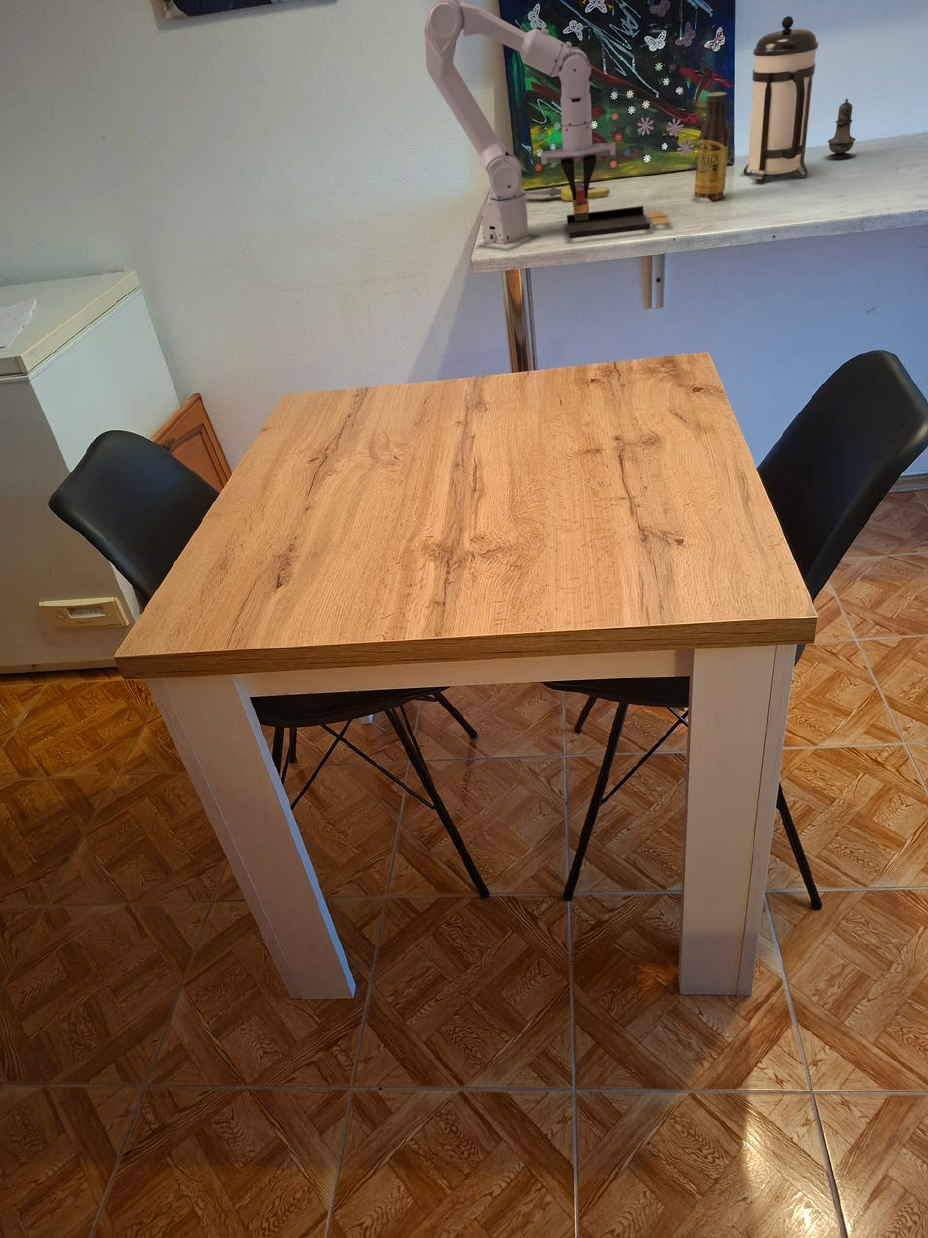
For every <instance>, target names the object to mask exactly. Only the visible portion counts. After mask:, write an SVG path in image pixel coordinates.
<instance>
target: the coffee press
mask: <svg viewBox="0 0 928 1238" xmlns="http://www.w3.org/2000/svg"><path fill="white" fill-rule="evenodd" d="M793 25H794V19H793V17H792V16H790V15H787V16H786V17H785V16H784V18H783V19H782V21H781V26H782V28H783V29H782V30H779V31H774V32H770V33H768V34H765V35H764V36H762V37H761V38H760V39H758V41H757V43H756V45H755V48H753V51H752V54H753V57H754V67H753V69H752V79H751V80H752V81H753V82H752V93H751V95H752V96H751V112H750V125H749V140H748V141H749V142H748V154H747V155H748V156H747V157H748V158H747V165H746V166H745V167H744V169H743V171H742V173H743V175H744V176H749V175H750V174H752V173H754V174H757V175H756V178H755V183H756V184H762V185H763V184H764V183H765V181H766V179H767V177H768V176H769V175H779V174H780V175H781V174H787V173H795V174H796V175H797V176H798V177H799V178H800V179H803V178H805V177H807V176H808V174H809V170H808V168H807V166H806V164H805V155H806V149H807V139H808V130H809V129H808V128H809V119H810V118H809V117H810V110H811V100H812V89H813V79H814V75H815V72H816V71H815V70H816V62H815V61H816V51H817V50H818V47H819V42H818V41H817V37H816V35H815V33H814V32H812V31H811V30H808V29H801V28H800V29H798V28H797V29H796V28H795V29H792V28H791V27H793ZM800 168H801V169H802V171H803V173H804V175H803V173H802V172H801V171H800V170H799V169H800ZM748 170H750V171H749V172H748Z"/></svg>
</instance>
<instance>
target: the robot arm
mask: <svg viewBox="0 0 928 1238" xmlns="http://www.w3.org/2000/svg"><path fill="white" fill-rule="evenodd" d="M462 30H463V37H468V36H474V35H483V36H485V37H487V38H489V39H491V40H493V41H495V42H498V43H500V44H502V45H504V46H505V47H509V48H511V49H513V50H515V51H517V52H518V53H519V55H520V59H521V61H522V63H523V64H525V65H527V66H529V67H531V68H534V69H535V70H537V71H539V72H541V73H543V74H545V75H547V76H549V77H551V78H554V77H559V81H560V84H561V85H560V87H561V88H560V89H561V96H560V111H561V112H560V114H561V133H562V147H560V148H555V149H551V150H545V151H541V152H540V160H541V165H548V164H549V163H550V164H552V163H558V162H559V163H560V166H561V168H562V170H563V172H564V175H565V177H566V179H567V182H568V185H570V188H571V191H572V197H573V200H576V189H575V183H576V181H575V180H576V179H575V163H574V161H575V160H581V159H582V171H583V186H584V193H585V199H587V198H588V188H590V183H591V179H592V176H593V173H594V170H595V168H596V164H597V157H602V156H603V157H604V156H611V157H612V156H616V143H615V142H614V141H613V142H603V143H593V127H592V124H593V123H592V99H591V98H592V96H591V95H592V94H591V93H590V89H591V83H590V80H589V79H590V77H591V74H592V67H591V64H590V60H589V58H588V56H587V54H586V53H585V52H584V51H583V50H581V49H580V48H579V47H577V46H573V44H572V42H570V41H566V42H563V41H561V40H560V39H557V38H556V37H554V36H552V35H550V34H549V30H548V29H546V28H544V27H542V28H541V30H540V29H538V28H533V29H531V30H530V31H528V32H525V31H523V30H522V29H520V28H518V27H516V26H514V25H512V24H510V23H509V22H507V21H505V20H503V19H502V18H499V17H498V16H496V15H494V14H492V13H491V12H489V11H487V10H486V9H483V8H481V7H479V6H477V5H474V4H471V3H468V2H465V1H461V2H460V1H459V0H437V1H436V2H434V3H433V4H432V5H431V7H430V8H429V10H428V13H427V16H426V20H425V24H424V28H423V35H424V43H425V45H424V46H425V47H424V48H425V66H426V67H425V68H426V70H427V74H428V75H429V76H430V78H431V79H432V82H433V83H434V84H435V87H436V88H437V90H438V91H439V93H440V94H441V96H442V97H443V99H444V100H445V102H446V104H447V105H448V107H449V109H450V111H451V112H452V113H453V115H454V116H455V118H456V120H457V122H458V124H459V125H460V126H461V128H462V130H463V132H464V133H465V134H466V137H467V138H468V139H469V141H470V143H471V144H472V145H473V147H474V149H475V151H476V152H477V154H478V156H479V157H480V161H481V162H482V165H483V168H484V169H485V171H486V173H487V174H488V177H489V185H490V188H491V190H492V191H490V193H489V197H490V198H489V200H488V201H487V202H486V203H485V204H484V205H483V206H482V207H481V211H480V220H481V232H482V238H483V239H482V240H483V241H482V242H481V243H480V245H481V246H482V247H483V246H484V247H485V246H486V243H488V244H495V245H502V246H503V245H504V246H505V245H508V244H510V243H512V242H515V241H518V240H521V239H524V238H526V237H528V236H529V234H530V233H529V222H528V221H529V220H528V209H527V197H526V194H525V192H526V189H525V188H524V187H523V186H522V183H523V182H522V181H523V180H522V176H523V175H522V174H523V166H522V163H521V161H520V159H519V158H518V157H516V156H515V155H514V154H511V152H509V151H508V149H507V147H506V146H505V145H504V143H503V142H502V141H501V140H500V139H499V137H498V135H497V133H496V132H495V130H494V129H493V127H492V125H491V123H490V122H489V121H488V119H487V117H486V116H485V114H484V112H483V111H482V109H481V107H480V105H479V103H478V102H477V100H476V98H475V97H474V96H473V94H472V92H471V91H470V89H469V87H468V85H467V84H466V82H465V80H464V79H463V77H462V76H461V74H460V72H459V70H458V68H457V67H456V66H455V64H454V59H455V52H456V46H457V41H458V38H459V37H460V35H461V32H462Z"/></svg>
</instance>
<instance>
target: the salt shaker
mask: <svg viewBox="0 0 928 1238" xmlns="http://www.w3.org/2000/svg"><path fill="white" fill-rule="evenodd" d="M844 101H845V102H843V103H841V104H840V105H839V107H838V114H837V120H836V121H835V124H836V128H835V134H834V136H833V137H832V138H830V139H829V140H828V141H827V143H828V147H829V150H830V152H832V153H831V154H830V155H828V156H827V160H831V161H843V160H848V159H851V158H852V157H853V155H852V154H851V153H849V151H850V150H851V149H852V148H853V146H854V144H855V143H854V142H855V141H856V138H855V137H852V136H851V124H852V123H853V119H852V113H853V104H852V103H850V102H848V101H849V99H848V97H846V99H845V100H844Z"/></svg>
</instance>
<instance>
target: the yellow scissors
mask: <svg viewBox="0 0 928 1238" xmlns="http://www.w3.org/2000/svg"><path fill="white" fill-rule="evenodd" d="M525 194H526V198H527V197H528V198H544V197H545V198H546V197H547V198H548V197H549V198H550V197H554V196H560V199H562V200H564V201H566V202H572V191H571V188H570V185H569V184H567V185H565V186H564V187H562V188H556V187H551V188H549V189H545V190H538V191H525ZM609 194H610V187H607V186H603V185H601V186H596V187H589V188H588V198H587V200H588V201H589V200H593V199H600V198H604V197H605V198H606V197H607V196H609Z"/></svg>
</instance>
